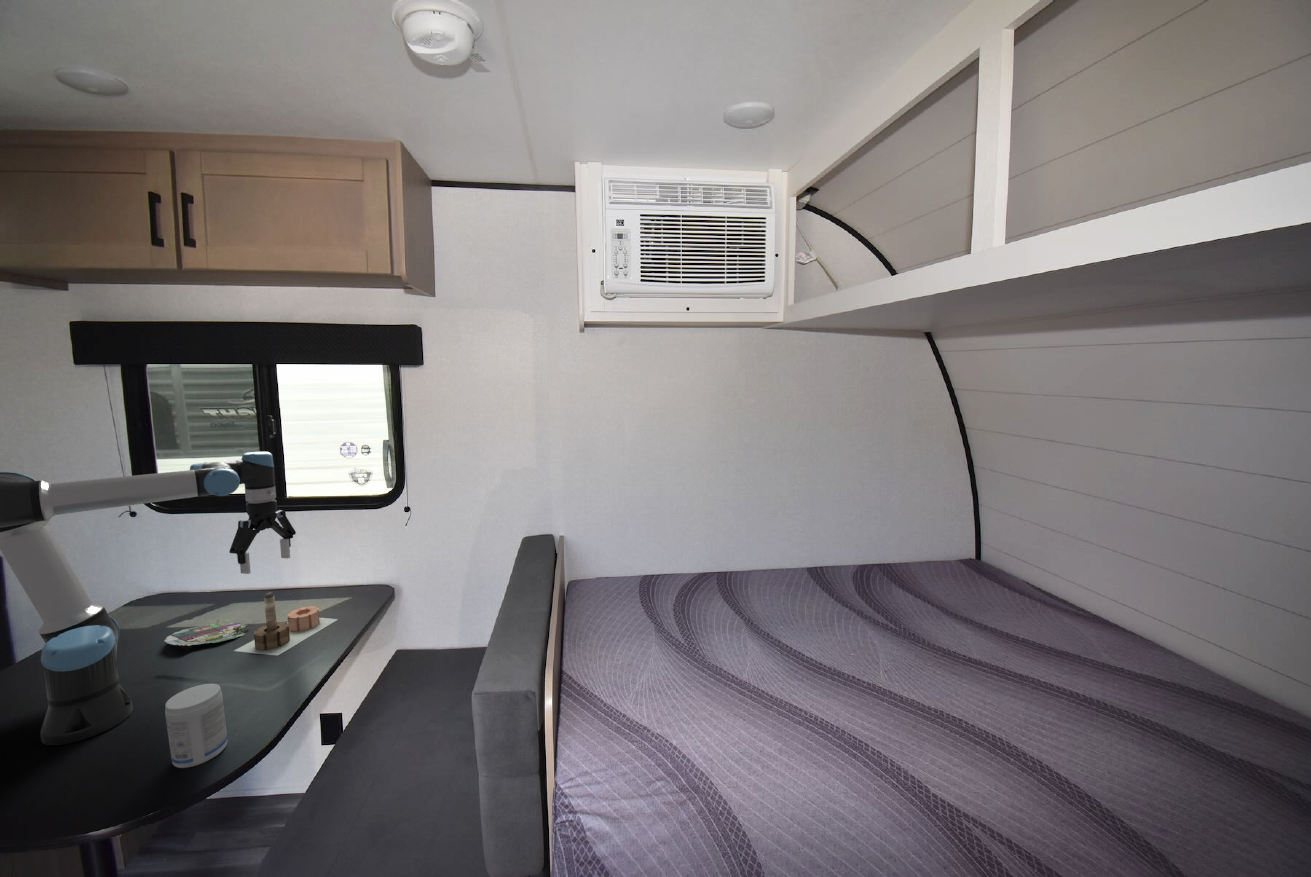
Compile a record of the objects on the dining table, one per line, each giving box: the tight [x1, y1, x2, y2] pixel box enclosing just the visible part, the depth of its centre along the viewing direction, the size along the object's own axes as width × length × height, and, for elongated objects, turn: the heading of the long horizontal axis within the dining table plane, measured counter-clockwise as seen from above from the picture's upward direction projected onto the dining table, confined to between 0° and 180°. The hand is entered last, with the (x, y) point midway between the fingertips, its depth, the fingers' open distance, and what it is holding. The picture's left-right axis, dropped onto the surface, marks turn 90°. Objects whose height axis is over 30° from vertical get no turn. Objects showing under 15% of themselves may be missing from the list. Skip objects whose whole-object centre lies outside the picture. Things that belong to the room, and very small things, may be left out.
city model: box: [163, 619, 250, 651], centre depth 165 cm, size 25×23×6 cm
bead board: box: [233, 617, 339, 656], centre depth 165 cm, size 24×16×1 cm, turn 171°
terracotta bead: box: [287, 605, 320, 632], centre depth 171 cm, size 9×9×5 cm
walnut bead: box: [253, 621, 290, 651], centre depth 159 cm, size 9×9×5 cm
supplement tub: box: [164, 683, 228, 769], centre depth 113 cm, size 10×10×15 cm
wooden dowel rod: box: [263, 591, 278, 632], centre depth 158 cm, size 3×3×17 cm
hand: (266, 565), depth 157 cm, fingers open, 13 cm apart
